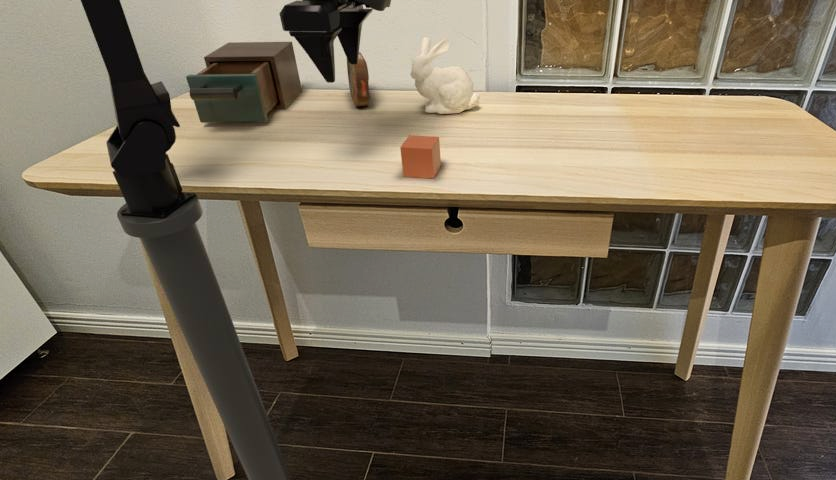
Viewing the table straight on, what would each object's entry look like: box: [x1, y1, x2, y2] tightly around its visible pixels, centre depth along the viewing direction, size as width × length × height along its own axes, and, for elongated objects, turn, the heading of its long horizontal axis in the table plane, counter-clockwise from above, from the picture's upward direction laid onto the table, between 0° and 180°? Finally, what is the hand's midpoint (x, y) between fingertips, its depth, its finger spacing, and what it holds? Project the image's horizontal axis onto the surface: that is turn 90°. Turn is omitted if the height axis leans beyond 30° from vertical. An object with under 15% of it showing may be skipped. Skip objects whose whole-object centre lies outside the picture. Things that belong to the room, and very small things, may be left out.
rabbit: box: [410, 36, 480, 115], centre depth 97 cm, size 12×9×12 cm
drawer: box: [185, 61, 279, 123], centre depth 93 cm, size 15×11×8 cm
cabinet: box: [203, 41, 303, 111], centre depth 103 cm, size 12×13×10 cm
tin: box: [346, 51, 371, 108], centre depth 103 cm, size 15×3×8 cm, turn 17°
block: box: [399, 134, 442, 179], centre depth 76 cm, size 4×4×4 cm
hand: (342, 72), depth 76 cm, fingers open, 9 cm apart
